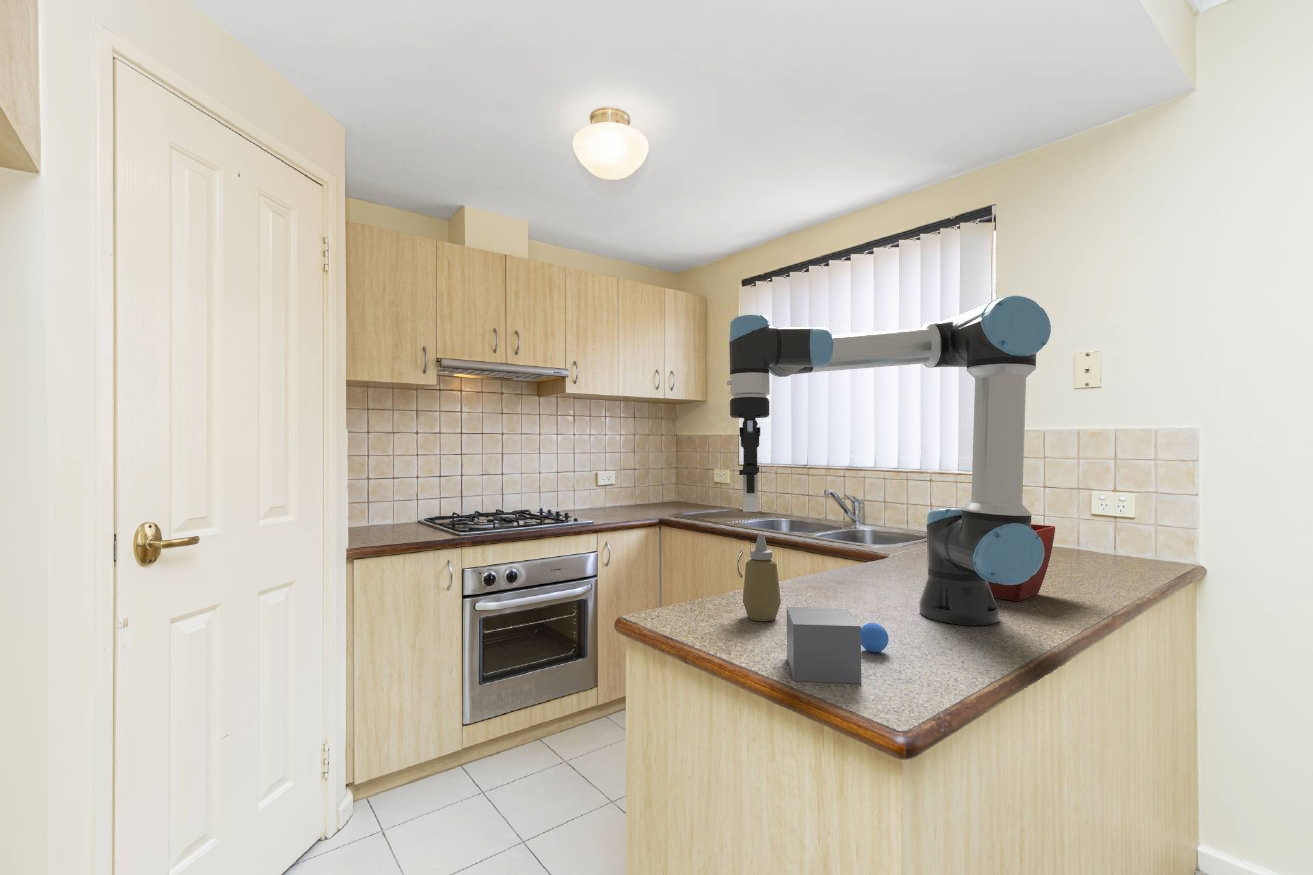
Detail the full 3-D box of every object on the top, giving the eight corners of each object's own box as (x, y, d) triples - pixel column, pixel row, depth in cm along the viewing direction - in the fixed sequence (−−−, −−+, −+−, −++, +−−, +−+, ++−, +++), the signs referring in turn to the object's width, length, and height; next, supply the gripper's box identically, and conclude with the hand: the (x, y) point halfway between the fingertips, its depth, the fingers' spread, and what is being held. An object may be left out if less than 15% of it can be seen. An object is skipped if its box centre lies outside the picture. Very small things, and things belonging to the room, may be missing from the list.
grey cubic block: (847, 660, 101) (847, 608, 101) (861, 683, 91) (860, 626, 91) (787, 657, 102) (786, 606, 102) (793, 680, 92) (793, 624, 92)
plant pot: (942, 592, 149) (941, 524, 149) (977, 581, 160) (976, 519, 161) (1026, 607, 134) (1025, 533, 134) (1058, 594, 145) (1057, 526, 146)
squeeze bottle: (781, 624, 121) (780, 536, 122) (741, 622, 123) (740, 535, 123) (780, 614, 129) (780, 531, 130) (743, 612, 131) (743, 530, 131)
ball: (884, 647, 107) (884, 619, 107) (892, 656, 102) (891, 627, 103) (856, 646, 108) (855, 618, 108) (862, 655, 103) (861, 627, 103)
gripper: (731, 402, 127) (731, 501, 126) (728, 391, 102) (728, 514, 102) (766, 402, 126) (767, 502, 125) (772, 390, 101) (773, 515, 101)
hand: (750, 508), depth 113 cm, fingers open, 13 cm apart
